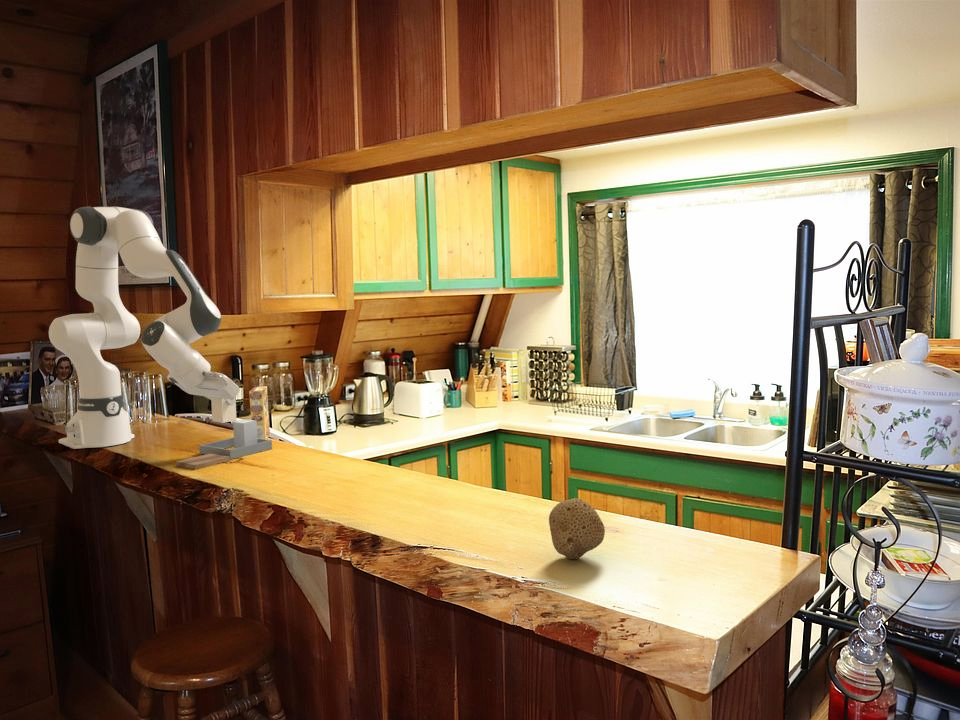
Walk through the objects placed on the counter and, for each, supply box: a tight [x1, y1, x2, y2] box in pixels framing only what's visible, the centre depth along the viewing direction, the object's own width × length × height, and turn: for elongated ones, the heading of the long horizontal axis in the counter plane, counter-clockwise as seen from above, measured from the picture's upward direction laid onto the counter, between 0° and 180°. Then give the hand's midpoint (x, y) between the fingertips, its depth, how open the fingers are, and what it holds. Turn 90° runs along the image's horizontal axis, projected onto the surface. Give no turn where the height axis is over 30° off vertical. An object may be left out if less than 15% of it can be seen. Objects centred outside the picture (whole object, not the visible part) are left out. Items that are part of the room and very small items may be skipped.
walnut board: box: [175, 453, 231, 470], centre depth 201 cm, size 8×10×1 cm
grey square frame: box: [198, 437, 273, 460], centre depth 214 cm, size 13×14×2 cm
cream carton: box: [210, 397, 237, 424], centre depth 211 cm, size 5×5×9 cm
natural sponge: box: [548, 497, 606, 560], centre depth 126 cm, size 9×9×10 cm
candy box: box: [248, 386, 271, 440], centre depth 231 cm, size 9×4×15 cm, turn 8°
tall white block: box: [232, 419, 258, 448], centre depth 217 cm, size 4×4×8 cm
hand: (225, 402), depth 211 cm, fingers closed on cream carton, 4 cm apart
